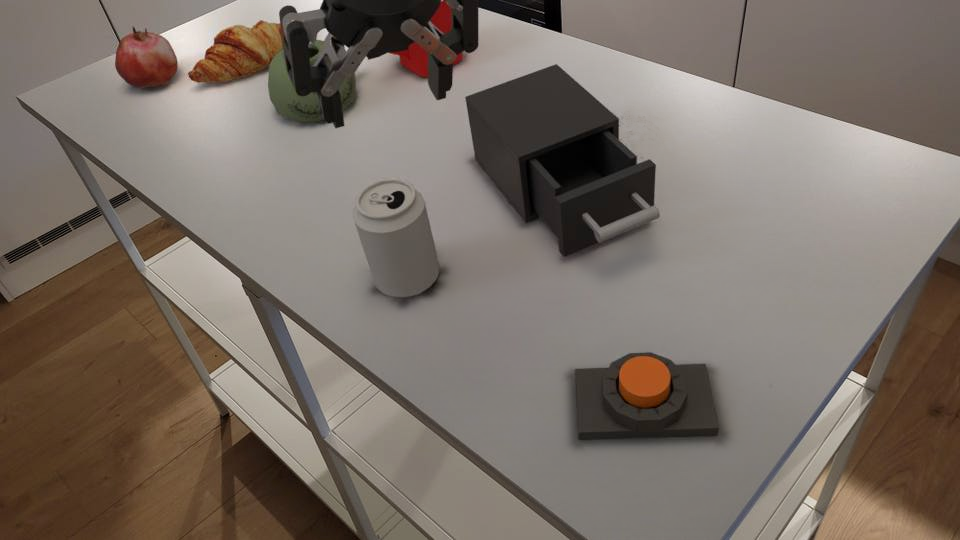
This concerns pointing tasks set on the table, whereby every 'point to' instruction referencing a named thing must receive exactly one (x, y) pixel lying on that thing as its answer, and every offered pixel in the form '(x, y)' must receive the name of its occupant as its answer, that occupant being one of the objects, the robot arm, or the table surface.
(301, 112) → the mug
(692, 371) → the control block
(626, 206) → the small dark drawer
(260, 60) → the croissant
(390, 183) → the can
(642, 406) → the button
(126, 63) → the fruit
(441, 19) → the mug
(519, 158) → the black drawer cabinet
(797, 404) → the table surface
